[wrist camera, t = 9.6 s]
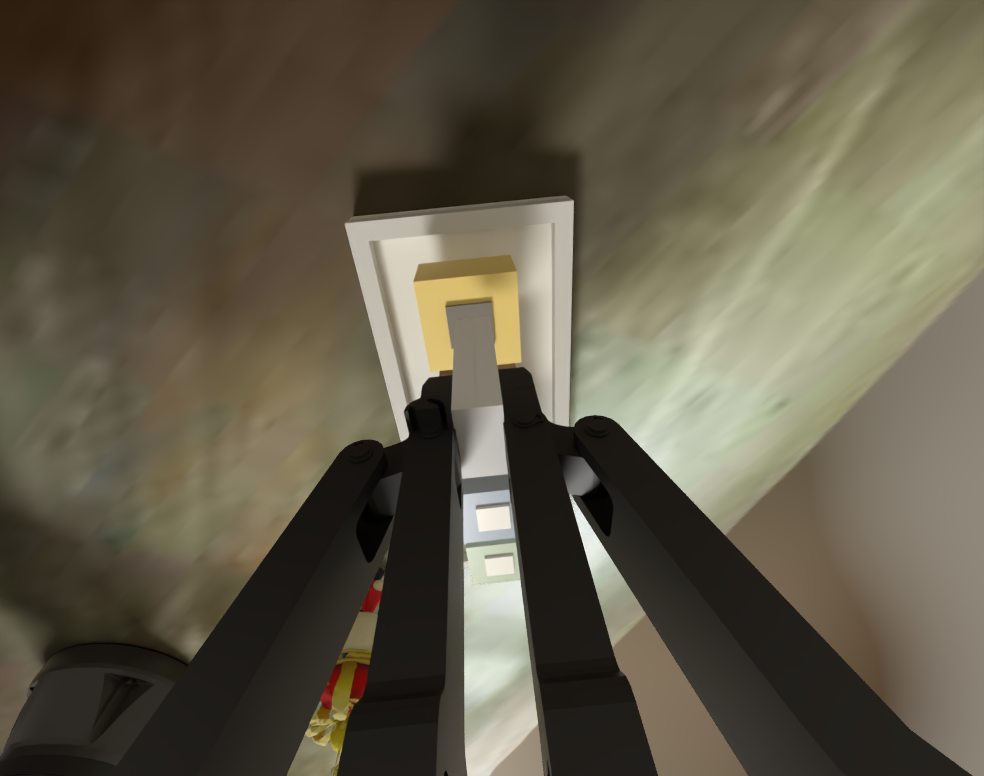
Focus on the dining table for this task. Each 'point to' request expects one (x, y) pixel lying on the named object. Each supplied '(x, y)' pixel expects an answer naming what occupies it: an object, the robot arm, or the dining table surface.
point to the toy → (348, 675)
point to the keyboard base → (465, 235)
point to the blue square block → (487, 509)
